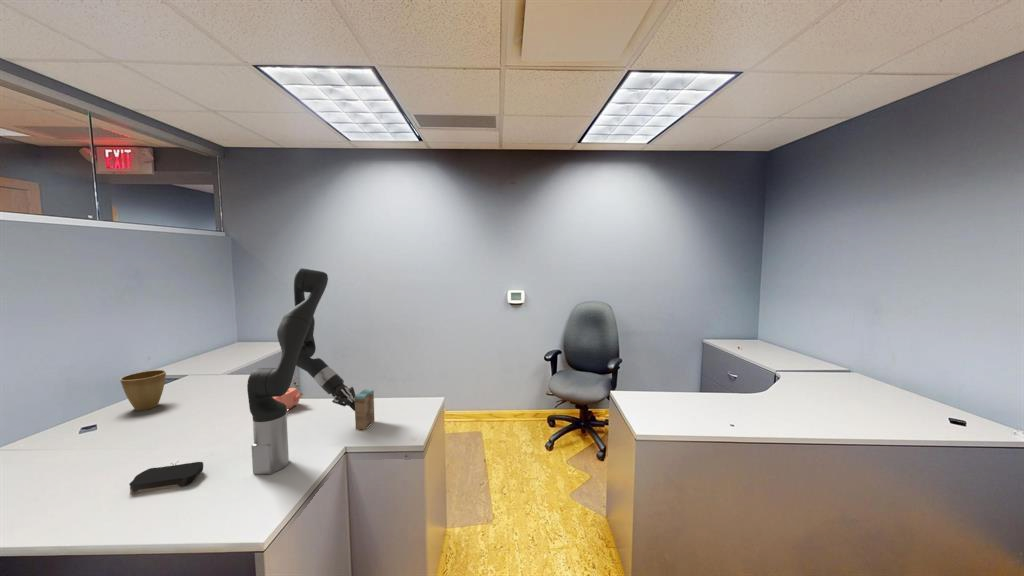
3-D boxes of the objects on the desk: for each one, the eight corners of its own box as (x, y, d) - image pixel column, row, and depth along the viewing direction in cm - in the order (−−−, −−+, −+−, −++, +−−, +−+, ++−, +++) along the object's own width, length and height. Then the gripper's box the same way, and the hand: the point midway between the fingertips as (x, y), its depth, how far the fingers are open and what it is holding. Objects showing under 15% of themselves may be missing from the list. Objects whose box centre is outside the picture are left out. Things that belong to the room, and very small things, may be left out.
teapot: (303, 408, 163) (303, 388, 163) (273, 415, 155) (272, 394, 155) (298, 401, 172) (297, 382, 171) (269, 407, 164) (268, 387, 163)
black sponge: (207, 471, 113) (206, 460, 113) (191, 487, 105) (190, 475, 105) (145, 479, 109) (145, 468, 109) (123, 496, 101) (122, 484, 101)
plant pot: (137, 403, 169) (135, 371, 168) (175, 400, 174) (173, 368, 173) (113, 416, 155) (110, 381, 154) (155, 411, 160) (152, 377, 159)
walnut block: (365, 430, 141) (364, 396, 140) (355, 429, 141) (354, 396, 140) (374, 421, 149) (373, 389, 148) (365, 421, 149) (364, 389, 148)
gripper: (325, 379, 138) (355, 409, 138) (343, 369, 151) (371, 397, 151) (312, 391, 139) (343, 422, 139) (332, 381, 152) (360, 408, 152)
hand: (357, 409), depth 145 cm, fingers closed
